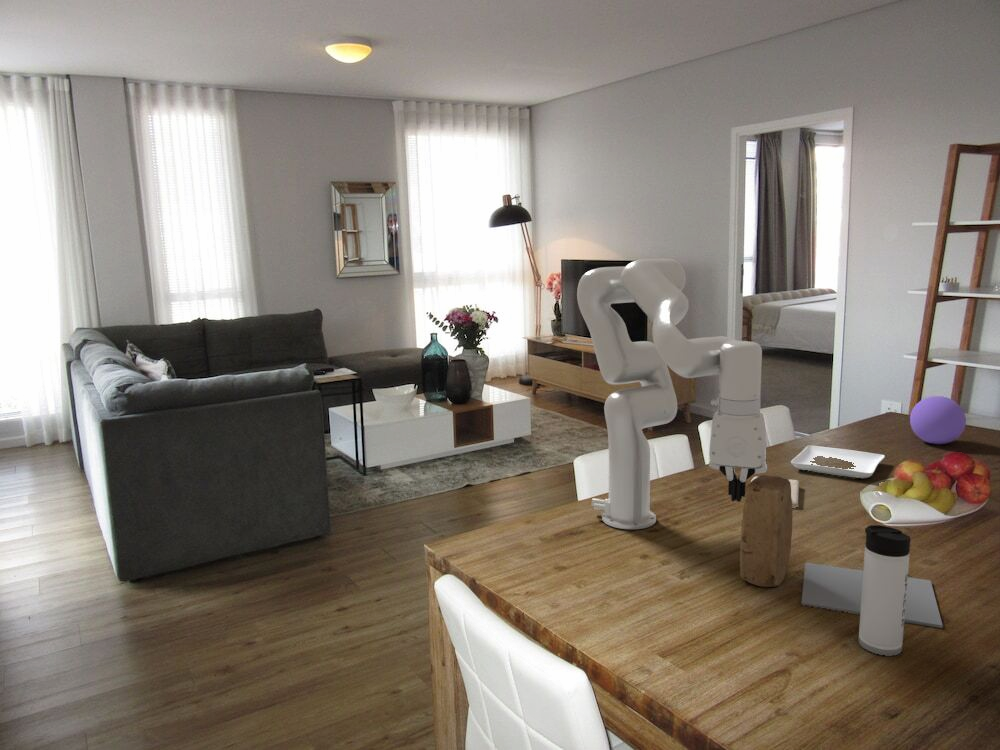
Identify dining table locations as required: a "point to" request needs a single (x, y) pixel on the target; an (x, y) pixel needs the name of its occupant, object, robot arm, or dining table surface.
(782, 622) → the dining table surface
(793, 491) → the washcloth
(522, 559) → the dining table surface
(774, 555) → the block
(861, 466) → the salad plate
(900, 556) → the travel mug
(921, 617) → the mat
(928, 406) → the decorative ball
